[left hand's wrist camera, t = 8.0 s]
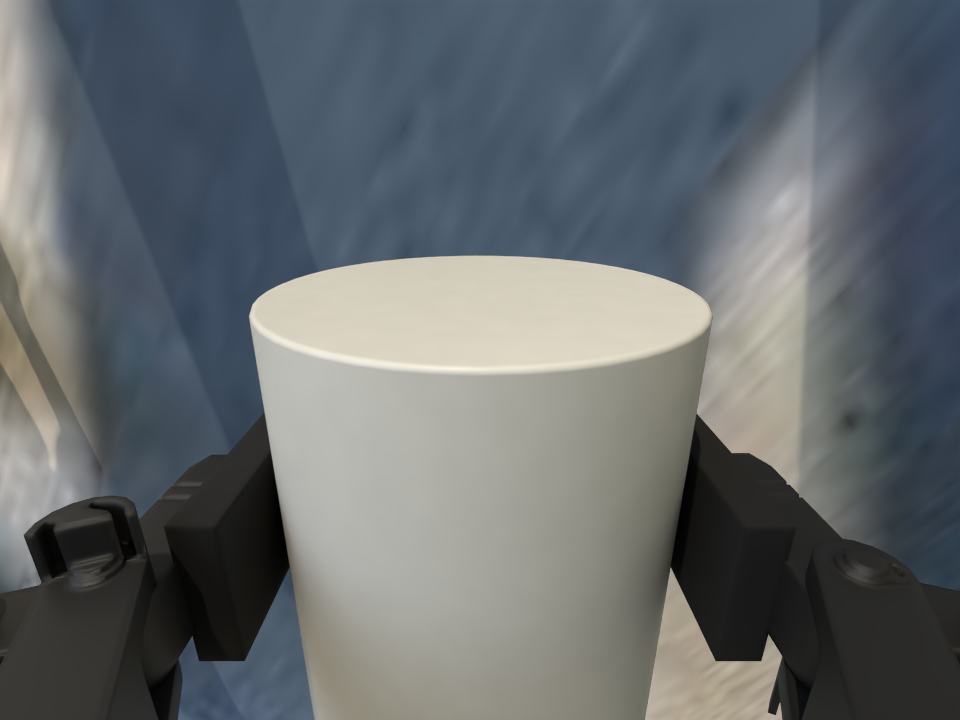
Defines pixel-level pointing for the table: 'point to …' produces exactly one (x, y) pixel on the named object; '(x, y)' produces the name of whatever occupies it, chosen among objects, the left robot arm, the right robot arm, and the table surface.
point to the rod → (480, 480)
